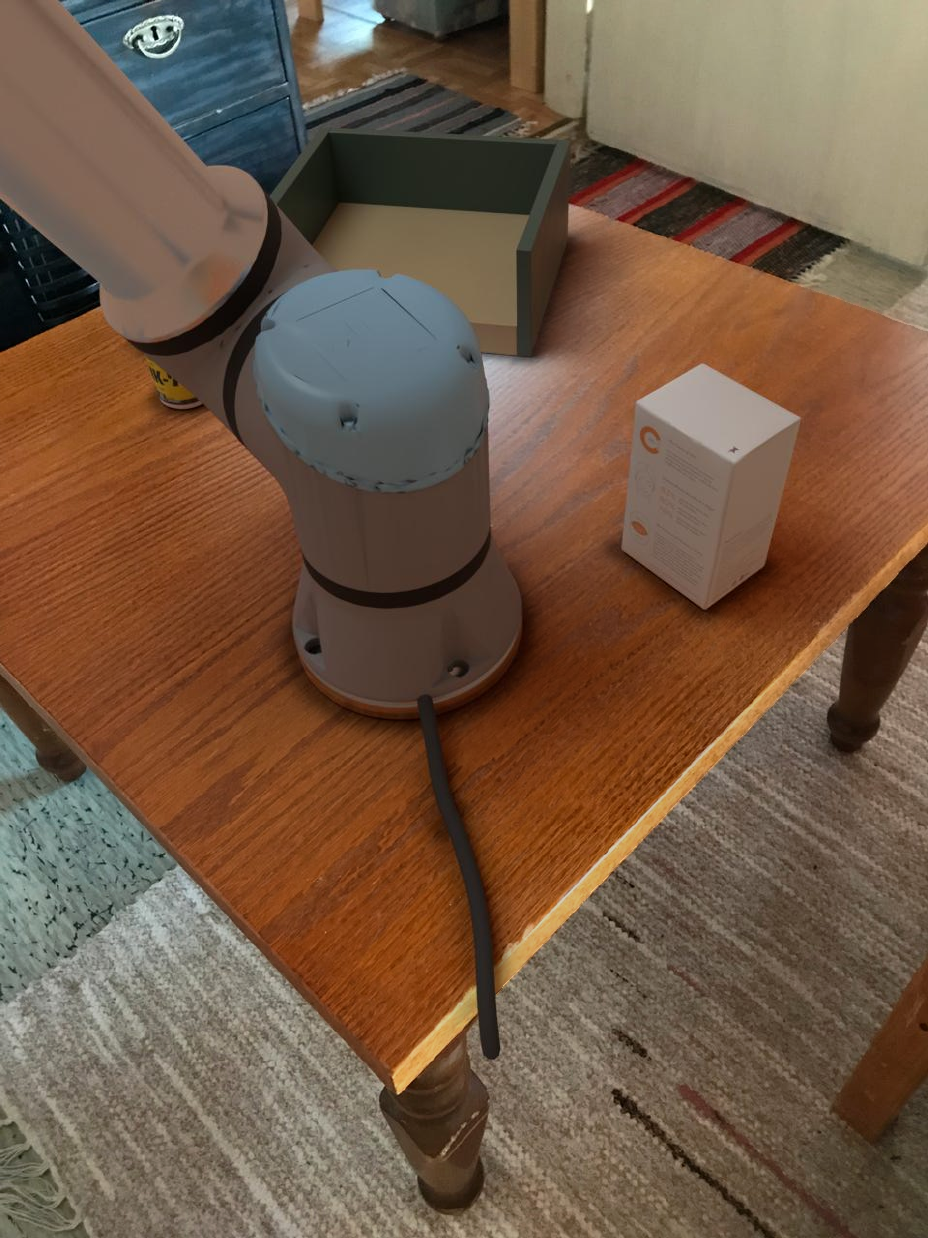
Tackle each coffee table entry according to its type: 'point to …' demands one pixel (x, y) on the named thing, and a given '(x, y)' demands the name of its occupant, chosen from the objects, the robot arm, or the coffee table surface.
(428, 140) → the green open tray
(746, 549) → the small box
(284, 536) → the coffee table surface
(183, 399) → the supplement bottle
